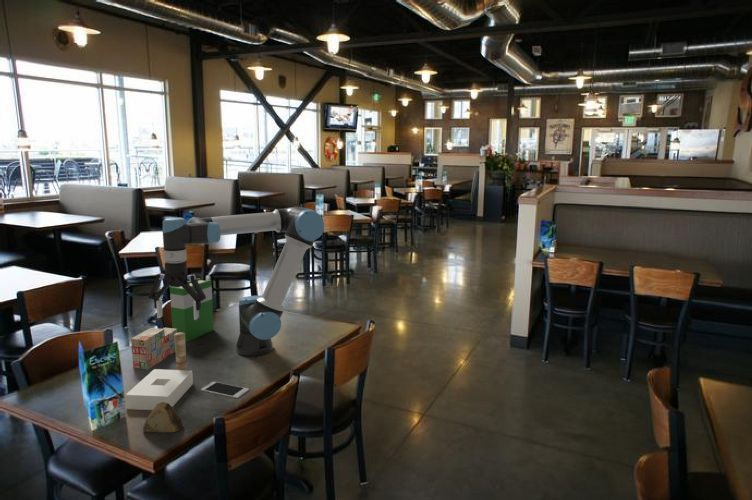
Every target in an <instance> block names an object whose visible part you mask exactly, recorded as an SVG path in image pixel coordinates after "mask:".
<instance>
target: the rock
mask: <svg viewBox="0 0 752 500" xmlns="http://www.w3.org/2000/svg"><path fill="white" fill-rule="evenodd" d="M184 427H185V424H184V421H183V420H182V418H181V416H180V415H179V414H178V413H177V411H176V410H175V408H174V407H172V406H170V405H169V403H165V402H161V403H159V404H157V405H156V407H155V408H154V409H153V410H151V412H150V413H149V414H148V415H147V418H146V420H145V423H144V425H143V427H142V428H143V429H142V431H143V432H151V433H176V432H178V431H180V430H182V429H183V428H184Z"/></svg>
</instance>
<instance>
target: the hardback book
mask: <svg viewBox="0 0 752 500" xmlns="http://www.w3.org/2000/svg"><path fill="white" fill-rule="evenodd" d="M197 281H198V283H199V285H200V287H201V289H202V291H203V292H204V294H205V296H206V298H205V299H204V300H203V301H201V309H200V310H199V318H198V319H196V320H194V306H193V302H195V300H194V299H193V298H192V297H191V296H190V294H189V293H188V292H187V291H186V290H185V289H184V288H183V287H182V286H181V287H176V286H175V287H171V286H169V294H170V295H169V297H170V308H171V309H170V310H171V312H170V313H171V327H172V328H174V329H177V332H178V333H180V332H183V333H185V343H187V342H191V341H192V340H195V339H197V338H198V337H201V336H203V335H206V334H208V333H210V332H212V331H214V313H213V312H214V309H213V288H212V286H213V285H212V283H213V282H212V279H208V280H202V279H201V278H200V277H197ZM187 282H188V283H189V285H190V286H191V287H192V288H193V290H194V291H195V289H194V287H193V285H192V283H191V281H190V280H187ZM195 292H196V291H195ZM196 293H197V292H196ZM205 333H206V334H205Z"/></svg>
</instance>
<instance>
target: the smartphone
mask: <svg viewBox="0 0 752 500" xmlns="http://www.w3.org/2000/svg"><path fill="white" fill-rule="evenodd" d="M249 390H250V389H249V388H247V387H244V386H237V385H233V384H228V383H223V382H219V381H211V382H210V383H209V384H207V385H205V386H203V387H201V389H200V391H201V392H205V393H210V394H214V395H219V396H223V397H228V398H233V399H239V398H240V397H242V396H243V395H245V394H246V393H247V392H249Z"/></svg>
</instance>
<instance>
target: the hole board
mask: <svg viewBox="0 0 752 500" xmlns="http://www.w3.org/2000/svg"><path fill="white" fill-rule="evenodd" d="M193 375H194V374H193V370H188V369H187V370H176V369H160V368H157V369H156V368H154V369H153V370H152V371H150V372H149V373H148V374H147V375H146V376H145V377H143V379H141V380H140V381H139V382H137V384H136V385H135V386H133V388H131V389H130V390H128V392H127V393H126V394H125V406H126V407H125V408H126V410H139V411H153V409H154V408H155V407H156V405H157V404H159V403H161V402H165V403H169V405H170V406H172V408H174V406H175V404H177V402H178V401H180V399H181V398H182V397H183V396H184V394H186V392H187V391H188V390H189V389H190V388H191V387H192V386H193V385H194V381H193V380H194V379H193V378H194V376H193Z"/></svg>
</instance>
